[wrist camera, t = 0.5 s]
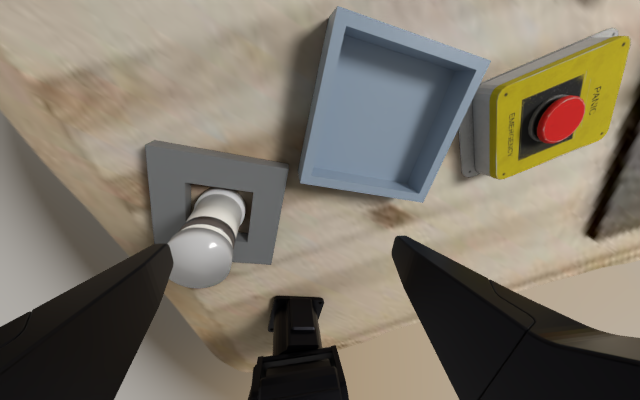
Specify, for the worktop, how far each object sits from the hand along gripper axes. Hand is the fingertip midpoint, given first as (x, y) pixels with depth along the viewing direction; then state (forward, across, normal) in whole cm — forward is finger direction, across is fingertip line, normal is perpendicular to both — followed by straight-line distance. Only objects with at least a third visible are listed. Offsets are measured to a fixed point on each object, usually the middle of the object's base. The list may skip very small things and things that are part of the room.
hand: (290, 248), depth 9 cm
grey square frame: (+13, +6, +5) cm, 16 cm away
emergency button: (+14, -24, -5) cm, 28 cm away
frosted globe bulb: (+13, +6, +5) cm, 16 cm away
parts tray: (+13, -8, -4) cm, 16 cm away
